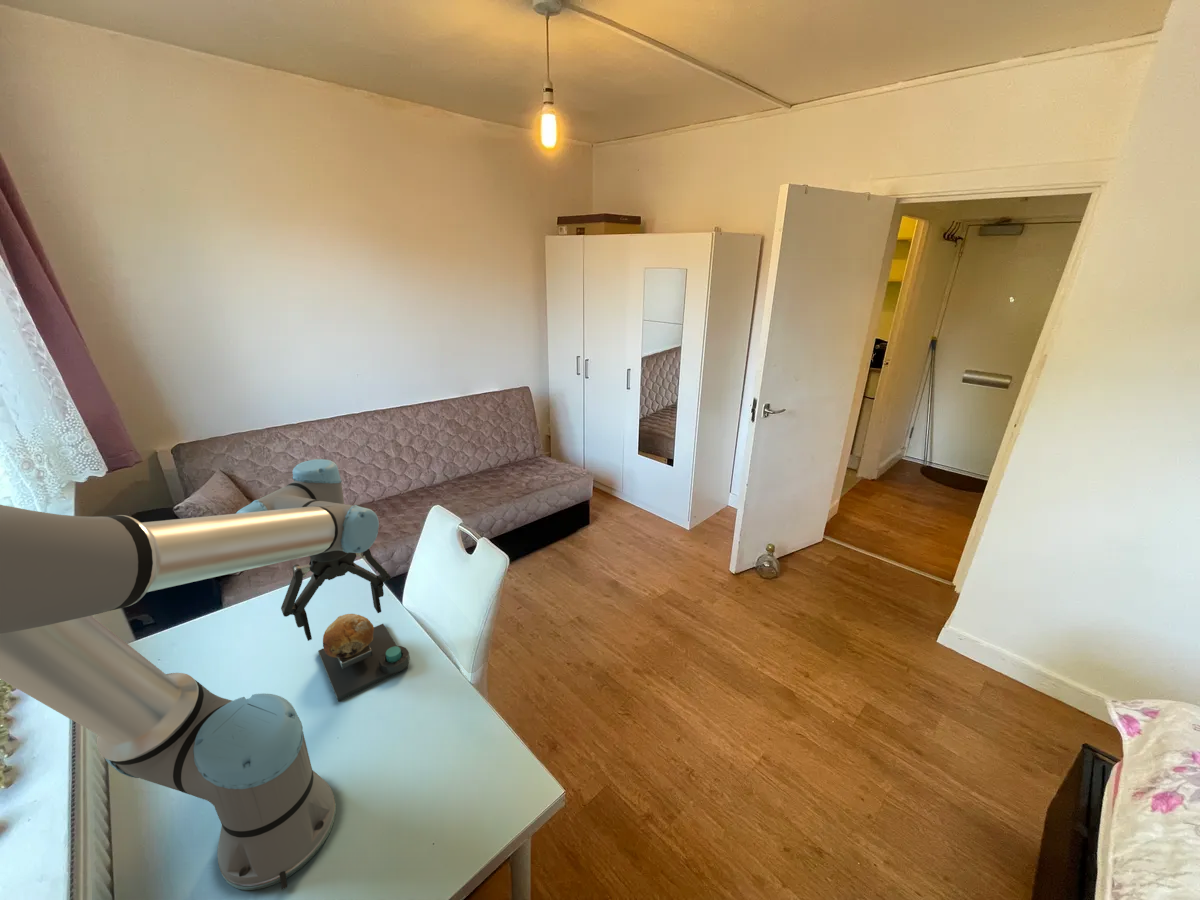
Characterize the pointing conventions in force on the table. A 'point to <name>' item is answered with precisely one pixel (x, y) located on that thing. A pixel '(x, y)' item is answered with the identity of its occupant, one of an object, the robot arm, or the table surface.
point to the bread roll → (347, 636)
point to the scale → (364, 666)
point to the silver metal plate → (355, 657)
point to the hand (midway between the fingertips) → (344, 622)
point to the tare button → (393, 654)
